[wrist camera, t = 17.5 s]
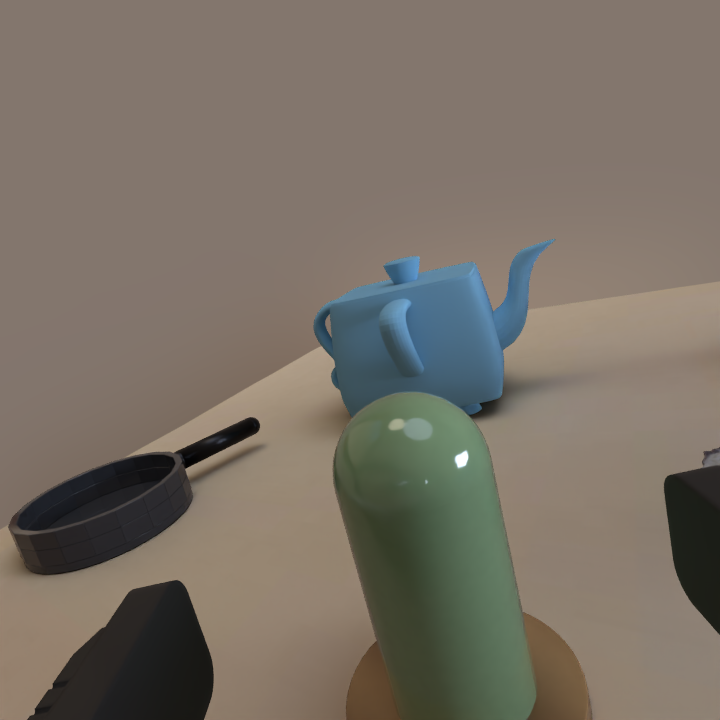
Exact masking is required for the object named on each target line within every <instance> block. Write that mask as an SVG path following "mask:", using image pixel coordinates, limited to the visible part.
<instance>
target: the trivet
mask: <svg viewBox="0 0 720 720" xmlns="http://www.w3.org/2000/svg"><path fill="white" fill-rule="evenodd" d="M523 616H524V621H525V626H526V631H527V636H528V641H529V645H530V650H531V655H532V660H533V665H534V670H535V675H536V681H537V694H536V700H535V703H534V706H533V709H532V711H531V713H530V715H529V717H528V718H527V720H592V710H591V705H590V699H589V694H588V688H587V684H586V680H585V675H584V673H583V670H582V668H581V665H580V663H579V661H578V660H577V658H576V656H575V654H574V653H573V651H572V650H571V649H570V647H569V646H568V645H567V643H566V642H565V641H564V640H563V639H562V638H561V637H560V636H559V635H558V634H557V633H556V632H555V631H554V630H553V629H551V628H550V627H549V626H547V625H546V624H545V623H543V622H541V621H540V620H538V619H536V618H535V617H533V616H531V615H529V614H526V613H524V612H523ZM346 720H400V718H399V716H398V714H397V712H396V709H395V706H394V702H393V699H392V695H391V691H390V688H389V684H388V681H387V677H386V673H385V670H384V666H383V663H382V659H381V655H380V652H379V648H378V645H377V641H376V642H375V643H374V644H373V645H372V646H371V647H370V648H369V650H368V651H367V652H366V654H365V655H364V656H363V658H362V659H361V661H360V663H359V665H358V666H357V668H356V670H355V673H354V675H353V677H352V680H351V683H350V687H349V691H348V695H347V704H346Z"/></svg>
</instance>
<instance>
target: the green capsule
mask: <svg viewBox="0 0 720 720" xmlns="http://www.w3.org/2000/svg"><path fill="white" fill-rule="evenodd" d="M333 484H334V488H335V493H336V497H337V500H338V504H339V508H340V511H341V515H342V518H343V522H344V526H345V529H346V533H347V537H348V540H349V544H350V547H351V551H352V555H353V558H354V562H355V565H356V569H357V573H358V576H359V580H360V583H361V587H362V591H363V594H364V598H365V601H366V605H367V609H368V612H369V616H370V619H371V623H372V627H373V630H374V634H375V637H376V641H377V645H378V648H379V652H380V655H381V659H382V663H383V666H384V670H385V673H386V677H387V681H388V684H389V688H390V691H391V695H392V699H393V702H394V706H395V709H396V712H397V714H398V716H399V718H400V720H527V718H528V717H529V715H530V713H531V711H532V709H533V706H534V703H535V700H536V694H537V681H536V675H535V670H534V665H533V660H532V655H531V650H530V645H529V641H528V636H527V631H526V626H525V621H524V616H523V611H522V606H521V601H520V596H519V591H518V587H517V582H516V577H515V572H514V567H513V562H512V557H511V552H510V547H509V542H508V537H507V532H506V528H505V523H504V518H503V513H502V508H501V503H500V498H499V493H498V488H497V483H496V478H495V474H494V469H493V464H492V459H491V455H490V451H489V447H488V445H487V443H486V440H485V438H484V436H483V434H482V432H481V431H480V429H479V427H478V426H477V424H476V423H475V422H474V421H473V420H472V418H471V417H470V416H469V415H468V414H467V413H466V412H464V411H463V410H462V409H461V408H460V407H458V406H457V405H455V404H454V403H452V402H451V401H449V400H447V399H444V398H442V397H440V396H437V395H434V394H430V393H426V392H418V391H404V392H396V393H392V394H388V395H385V396H383V397H380V398H378V399H376V400H374V401H372V402H370V403H369V404H368V405H366V406H365V407H363V408H362V409H361V410H360V411H359V412H358V413H357V414H356V415H354V416H353V418H352V419H351V420H350V421H349V423H348V424H347V425H346V427H345V429H344V430H343V432H342V434H341V436H340V438H339V441H338V443H337V446H336V450H335V454H334V459H333Z"/></svg>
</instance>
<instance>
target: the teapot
mask: <svg viewBox="0 0 720 720" xmlns="http://www.w3.org/2000/svg"><path fill="white" fill-rule="evenodd" d="M554 240H555V239H552V240H549V241H545V242H542V243H539V244H536V245H533V246H530V247H527V248H525V249H523V250H521V251H520V252H519V253H518V254H517V255H516V256H515V258H514V259H513V261H512V264H511V267H510V272H509V283H508V292H507V296H506V298H505V300H504V302H503V303H502V304H501V306H500V307H498V308H497V309H496V310H495V311H493V310H492V307H491V304H490V301H489V298H488V295H487V292H486V289H485V287H484V284H483V281H482V279H481V276H480V273H479V271H478V269H477V266H476V264H475V263H473V262H468V263H463V264H458V265H454V266H449V267H444V268H440V269H435V270H431V271H426V272H422V273H418V270H419V257H417V256H412V257H406V258H401V259H398V260H394V261H391V262H389V263H386V264H385V265H384V268H385V270H386V272H387V273H388V275H389V277H390V278H391V280H386V281H382V282H378V283H374V284H369V285H365V286H361V287H357V288H355V289H353V290H352V291H350V292H348V293H346V294H345V295H343V296H341V297H340V298H338V299H337V300H333V301H330V302H329V303H327V304H326V305H324V306H323V307H322V308H321V309H320V311H319V312H318V313H317V315H316V317H315V320H314V332H315V335H316V337H317V339H318V341H319V343H320V344H321V345H322V347H323V348H324V349H325V350H326V352H327V353H328V354H329V355H330V356H331V357H332V358H333V359H334V361H335V368H334V369H333V371H332V374H331V378H332V382H333V384H334V386H335V387H336V388H338V389H339V390H340V391H341V395H342V399H343V401H344V404H345V406H346V408H347V410H348V412H349V413H350V415H351V417H352V418H353V416H354V415H356V414H357V413H358V412H359V411H360V410H361V409H362V408H363V407H365V406H366V405H368V404H369V403H370V402H372V401H374V400H376V399H378V398H380V397H383V396H385V395H388V394H392V393H396V392H404V391H418V392H426V393H430V394H434V395H437V396H440V397H442V398H444V399H447V400H449V401H451V402H452V403H454V404H455V405H457V406H458V407H460V408H461V409H462V410H463V411H464V412H466V413H467V414H468V415H472V414H475V413H477V412H479V411H480V410H481V409H482V407H481V405H480V404H479V403H482V402H487V401H491V400H495V399H498V398H500V397H501V395H502V390H503V377H504V356H503V350H504V349H505V348H506V347H508V346H509V345H510V344H512V343H513V342H514V341H515V340H516V338H517V337H518V336H519V335H520V333H521V331H522V329H523V327H524V325H525V321H526V317H527V310H528V294H529V280H530V274H531V271H532V268H533V265H534V262H535V261H536V259H537V258H538V256H539V254H540V253H541V252H542V251H543V250H545V248H547V246H549V245H550V244H551V243H552V242H553V241H554ZM329 314H330V321H331V334H332V338H331V337H330V335H329V333H328V331H327V329H326V326H325V320H326V318H327V316H328V315H329Z"/></svg>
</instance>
